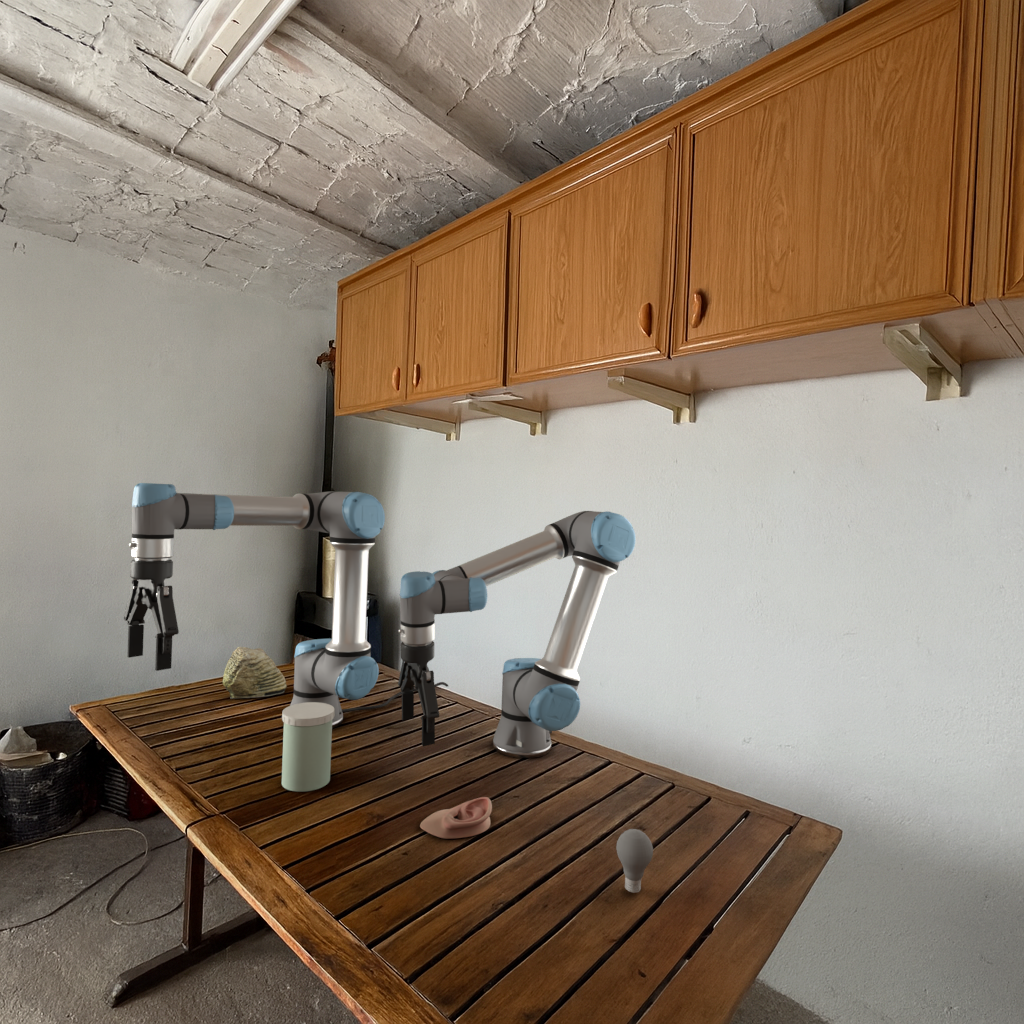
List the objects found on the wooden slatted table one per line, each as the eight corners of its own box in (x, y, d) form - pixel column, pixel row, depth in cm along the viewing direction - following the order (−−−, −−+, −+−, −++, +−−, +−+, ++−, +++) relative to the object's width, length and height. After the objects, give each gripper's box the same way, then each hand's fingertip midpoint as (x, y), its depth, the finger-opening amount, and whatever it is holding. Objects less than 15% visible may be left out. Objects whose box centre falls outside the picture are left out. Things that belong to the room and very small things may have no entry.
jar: (332, 788, 138) (335, 717, 138) (282, 794, 134) (285, 722, 134) (327, 768, 147) (330, 703, 147) (280, 774, 144) (283, 706, 143)
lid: (337, 724, 137) (337, 716, 137) (282, 728, 133) (283, 720, 133) (331, 707, 148) (331, 700, 148) (281, 711, 144) (281, 704, 144)
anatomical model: (414, 813, 120) (434, 787, 131) (414, 834, 120) (433, 806, 131) (482, 823, 117) (496, 795, 129) (481, 844, 118) (495, 815, 129)
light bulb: (610, 879, 108) (613, 822, 108) (644, 879, 109) (647, 822, 109) (619, 902, 102) (622, 840, 102) (655, 901, 103) (658, 840, 103)
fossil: (218, 695, 195) (220, 647, 195) (278, 685, 208) (279, 640, 207) (228, 703, 189) (230, 653, 188) (289, 692, 201) (290, 645, 201)
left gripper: (108, 554, 134) (104, 654, 134) (159, 565, 118) (155, 678, 119) (146, 552, 140) (143, 648, 140) (199, 563, 124) (195, 671, 124)
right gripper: (384, 627, 151) (385, 712, 153) (421, 662, 129) (421, 760, 132) (414, 623, 154) (414, 706, 157) (455, 657, 132) (454, 752, 135)
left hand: (148, 662), depth 129 cm, fingers open, 13 cm apart
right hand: (417, 731), depth 144 cm, fingers open, 13 cm apart
